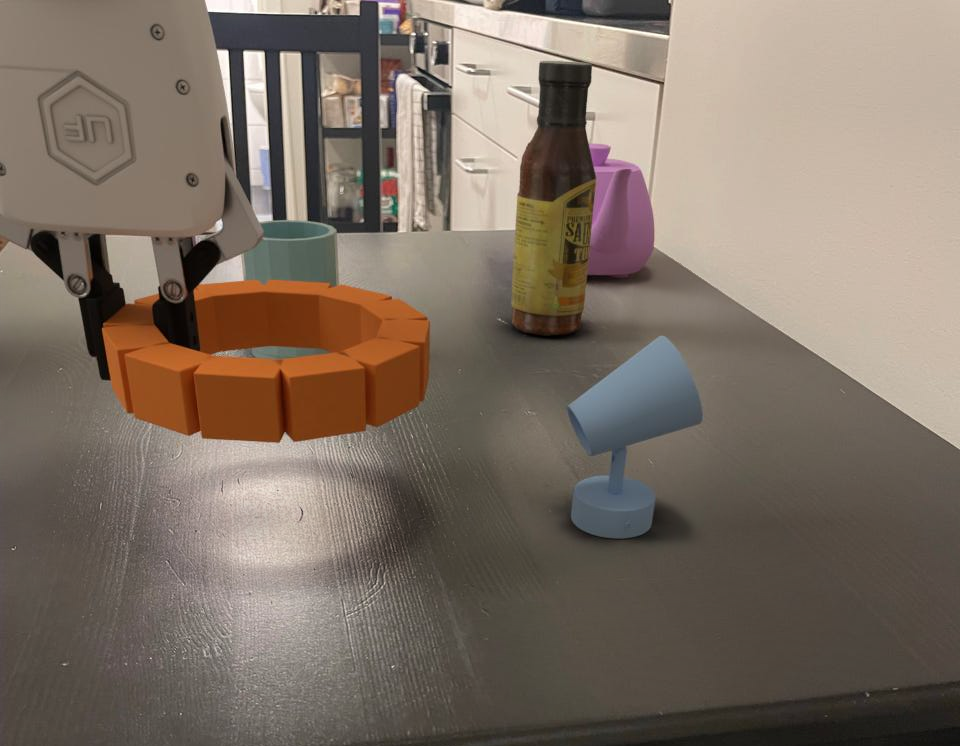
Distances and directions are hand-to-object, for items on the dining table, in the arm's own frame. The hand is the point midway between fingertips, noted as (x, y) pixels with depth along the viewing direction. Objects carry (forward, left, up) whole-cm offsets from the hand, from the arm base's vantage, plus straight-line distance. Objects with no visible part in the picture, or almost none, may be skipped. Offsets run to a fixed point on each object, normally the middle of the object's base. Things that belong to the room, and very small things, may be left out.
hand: (148, 370), depth 49 cm
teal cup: (+2, +28, -8) cm, 29 cm away
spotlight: (+25, +1, -8) cm, 26 cm away
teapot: (+27, +58, -8) cm, 64 cm away
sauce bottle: (+22, +37, -8) cm, 44 cm away
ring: (+6, 0, 0) cm, 7 cm away
